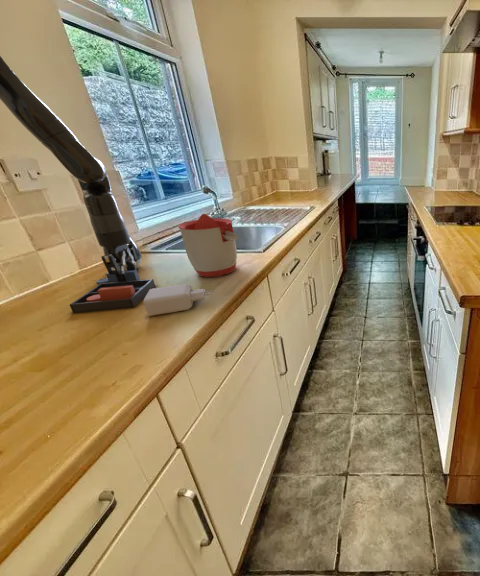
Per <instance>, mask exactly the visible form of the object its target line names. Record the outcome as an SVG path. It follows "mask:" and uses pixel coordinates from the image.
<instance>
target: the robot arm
mask: <svg viewBox="0 0 480 576" xmlns="http://www.w3.org/2000/svg"><path fill="white" fill-rule="evenodd" d="M0 101H1V102H2V103H3V104H4V105H5V107H6V108H7V109H8V110H9V111H10V113H11V114H12V115H13V116H14V118H15V119H16V120H18V122H19V123H20V124H21V125H22V126H23V127H24V128H25V129H26V130H27V131H28V132H29V133H30V134H31V135H32V136H33V137H34V138H35V139H37V141H39V142H40V143H41V144H42V145H43V147H45V148H46V149H48V151H49V152H51V153H52V155H53V156H54V157H55V158H56V159H57V160H58V162H60V164H61V165H62V166H63V167H64V168H65V170H67V172H69V174H71V176H73V177H74V179H76V180H77V182H78V184H79V187H80V189H81V191H82V198H83V199H82V200H83V203H84V206H85V209H86V211H87V214H88V217H89V221H90V225H91V227H92V230H93V232H94V235H95V237H96V240H97V242H98V245H99V247H100V248H101V247H102V248H103V247H105V248H106V249H107V255H106V256H104V255H102V256H101V260H102V263H103V264H104V266H105V268H106V270H107V273H109V274H110V275H112V274H115V275H116V277H117V280H118V282H125V281H128V280H127V278H126V275H125V273H124V266H125V265H126V266H127V267H126V268H127V271H130V270H137V268H136V267H135V265H136V263H135V262H137V261H138V259H137V256H136V252H135V248H134V245H133V244H128V243H130V241H131V240H130V237H131V236H130V234H129V230H128V229H127V226H126V222H125V219H124V217H123V216H122V214H121V211H120V207H119V205H118V203H117V200H116V198H115V195H114V193H113V189H112V187H111V183H110V179H109V176H108V172H107V169H106V167H105V164H103V162H102V161H101V160H99V159H98V158H97V157H94V156H93V154H92V153H90V151H88V150H87V149H86V148H85V146H83V145H82V144H81V143H80V142H79V140H78V138H77V137H76V136H75V134H74V133H73V132H72V131H71V130H70V128H69V127H67V126H66V125H65V123H64V122H63V121H62V120H61V119H60V118H59V117H58V116H57V115H56V114H55V113H54V112H53V111H52V110H51V109H50V108H49V106H47V104H45V103H44V102H43V101H42V100H41V99H40V98H39V97H37V95H36V94H35V93H34V92H33V91H32V90H30V88H29V87H27V85H26V84H25V83H24V82H23V81H22V80H21V79H20V77H18V75H17V74H16V73H15V72H14V71H13V70H12V68H10V65H8V64H7V62H6V61H5V60H4V59H3V57H2V56H1V55H0ZM129 236H130V237H129ZM132 255H133V256H132ZM117 263H118V264H117ZM118 266H120V269H119V267H118ZM111 267H112V268H111Z"/></svg>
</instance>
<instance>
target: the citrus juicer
mask: <svg viewBox="0 0 480 576" xmlns="http://www.w3.org/2000/svg"><path fill="white" fill-rule="evenodd" d="M177 227H178V229H179V230H180V234H181V239H182V242H183V246H184V250H185V254H186V256H187V258H188V260H189V262H190V264H191V266H192V267H193V270H194V271H195V272H196V274H198V276H200V277H205V278H211V277H222V276H224V275H228V274H230V273H232V272H234V271H235V270H236V268H237V267H236V266H237V258H238V250H237V249H238V248H237V243H236V240H238V239H239V237H238V235H237V233H235V232H234V228H233V220H232V219H229V218H220V217H219V218H217V217H216V218H215V217H214V218H212V217H211V216H209V215H208V214H206V213H202V214H201V215H199V217H198V219H195V220H190V221H185V222H183V223H180V224H179V225H178V226H177Z"/></svg>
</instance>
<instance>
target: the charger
mask: <svg viewBox="0 0 480 576" xmlns="http://www.w3.org/2000/svg"><path fill="white" fill-rule="evenodd" d="M213 292H214V290H206V289H205V288H200V289H193V286H192V285H191V284H189V283H184V284H176V285H168V286H162V287H154V288H153V289H150V290H149V292H148V293H147V295H146V296H145V297H144V298H143V307H144V309H145V311H146V315H147V316H148V317H153V316H158V315H164V314H165V315H166V314H170V313H171V314H172V313H176V312H183V311H188V310H189V309H191V308H192V307H193V304H194V302H196V301H197V302H198V301H202V300H206V296H209V295H214V293H213Z"/></svg>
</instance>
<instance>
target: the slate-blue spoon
mask: <svg viewBox="0 0 480 576" xmlns="http://www.w3.org/2000/svg"><path fill="white" fill-rule="evenodd" d="M124 273H125V275H126V278H127V280H128V281H137V280H141V279H140V276H139V273H138V270H137V269H136V270H130V271H124ZM105 275H106V277H103V278H100V279H98V280H97V279H96V281H95V282H96V286H98V285H99V284H101V283H113V282H118V280H117V277H116V275H115V274H112V275H110V274H109V273H108V272H106V273H105Z"/></svg>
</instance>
